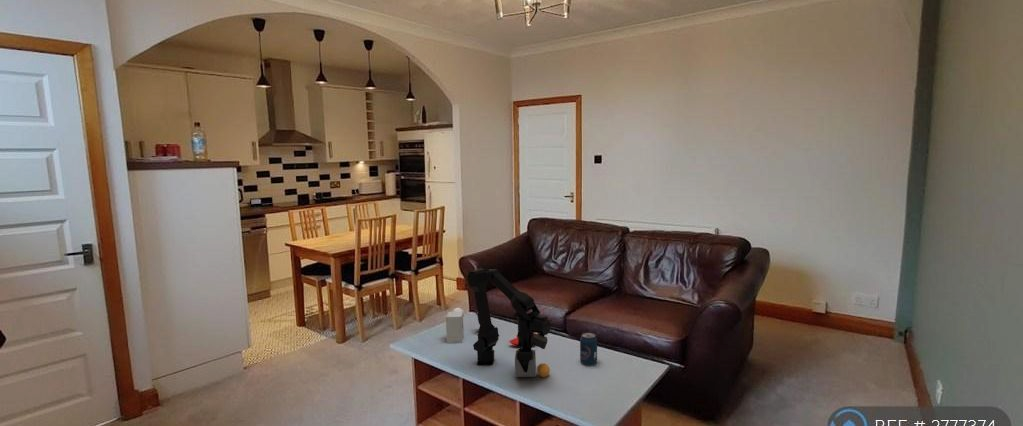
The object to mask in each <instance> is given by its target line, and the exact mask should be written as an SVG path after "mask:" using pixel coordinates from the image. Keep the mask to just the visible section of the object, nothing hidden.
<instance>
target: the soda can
mask: <svg viewBox="0 0 1023 426" xmlns="http://www.w3.org/2000/svg"><path fill="white" fill-rule="evenodd" d="M596 336H597V335H596V334H595V333H593V332H582V334H581V336H580V339H579V353H580V354H579V359H580V362H581V364H582V365H583V366H589V367H592V366H595V365H596V363H597V362H598V338H597V337H596Z"/></svg>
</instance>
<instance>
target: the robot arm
mask: <svg viewBox="0 0 1023 426" xmlns="http://www.w3.org/2000/svg"><path fill="white" fill-rule="evenodd" d="M466 278H467V283H468V286H469V288H470V289H471V290H472V292H473V294H474V299H475V304H476V312H477V311H478V317H479V322H478V324H479V323H480V324H479V327H478V328H479V329H478V331H477V341H476V342H474V344H472V346H473V350H474V351H476V353H477V354H476V357H477V361H476V365H477V366H492V365H493V364H494V362H495V350H494V347H495V346H496V344H498V341H499V339H500V338H499V337H500V334H499V329H498V326H496V327H495V326H494V324H493V322H492V316H491V312H490V311H491V310H490V306H489V299H488V295H487V288H488V285H489V281H490V282H491V284H493V285H494V286H495V287H496V288H497V289H498V290H499V291H500V292H501V293H502V294H503V295H504V296H505V297H506V298H507V299H508V300H509V301H510V305H511V307H512V308H513V310H514V311H515V313H513V314H512V317H513V318H517V335H518V347H519V348H518V349H516V350H517V353H516V352H515V354H516V359H517V360H518V361H519V363H520V364H521V366H522V368H523V370H524V372H527V370H528V365H529V361H530V360H532V359H533V350H534V349H532V348H534V346H535V347H538V348H541V350H546V346H547V343H548V337H547V335H548V334H549V333H550V331H551V329H552V328H551V327H552V324H551V321H550V319H549V318H548V316H546V315H540V314H541V311H540V310H539V308H538V307H537V305H536V303H535V299H534V298H533V297H532V296H531V295H529V294H527V293H525V292H523V291H521V290H518V288H516V287H515V286H514V285H513V284H512V283H511V281H509V280H508V279H507V278H506V277H505V276H503V274H502V273H500V271H499V270H498V268H497V269H496V268H493V269H485V268H483V267H481V268H478V269H474V270H472V271H469V272H468V274H467V275H466ZM530 311H531V312H530ZM478 317H477V318H478ZM534 332H536V334H534Z"/></svg>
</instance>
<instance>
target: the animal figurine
mask: <svg viewBox="0 0 1023 426" xmlns="http://www.w3.org/2000/svg"><path fill="white" fill-rule="evenodd" d="M534 334H537V333H536V332H534ZM508 343H509V344H511V345H513V346H515V347H518V334H516V337H515V338H513V339H511V340H509V341H508Z"/></svg>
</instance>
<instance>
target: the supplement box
mask: <svg viewBox="0 0 1023 426" xmlns="http://www.w3.org/2000/svg"><path fill="white" fill-rule="evenodd" d="M445 326H446V327H445V329H446V330H445V331H446V343H448V344H450V343H452V344H454V343H455V344H457V343H458V344H461V343H463V339H464V336H465V333H464V331H465V330H464V317H463V312H452V311H448V312H447V314H446V316H445Z"/></svg>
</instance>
